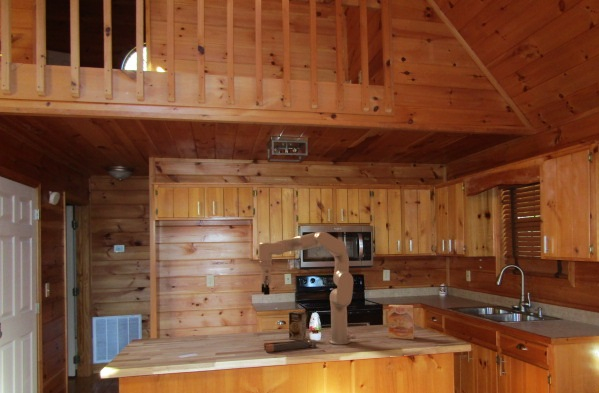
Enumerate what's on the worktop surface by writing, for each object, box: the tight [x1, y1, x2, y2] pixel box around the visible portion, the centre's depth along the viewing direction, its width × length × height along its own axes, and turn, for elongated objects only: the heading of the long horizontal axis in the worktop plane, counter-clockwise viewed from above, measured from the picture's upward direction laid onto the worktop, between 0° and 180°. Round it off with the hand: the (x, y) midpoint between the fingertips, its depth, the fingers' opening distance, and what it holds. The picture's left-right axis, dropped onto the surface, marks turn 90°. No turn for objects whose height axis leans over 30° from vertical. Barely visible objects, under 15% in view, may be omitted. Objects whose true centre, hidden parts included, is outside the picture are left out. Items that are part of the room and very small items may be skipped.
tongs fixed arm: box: [263, 339, 317, 351], centre depth 256 cm, size 30×4×4 cm, turn 103°
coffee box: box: [288, 311, 307, 341], centre depth 279 cm, size 9×6×16 cm
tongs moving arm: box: [265, 339, 313, 353], centre depth 252 cm, size 27×2×4 cm, turn 112°
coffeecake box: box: [387, 304, 415, 340], centre depth 280 cm, size 15×7×20 cm, turn 73°
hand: (265, 293), depth 260 cm, fingers open, 9 cm apart
